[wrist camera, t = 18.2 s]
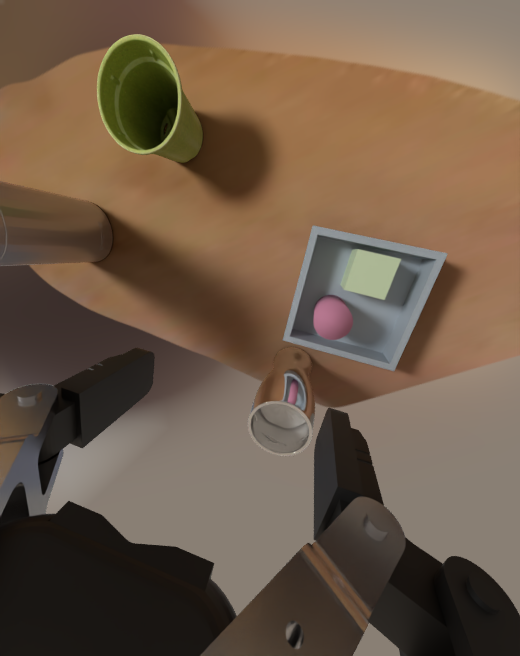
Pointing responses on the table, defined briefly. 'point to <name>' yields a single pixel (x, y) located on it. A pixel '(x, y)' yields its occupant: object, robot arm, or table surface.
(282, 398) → the beer glass
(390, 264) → the sage block
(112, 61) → the plant pot
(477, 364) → the table surface
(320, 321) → the plum cylinder
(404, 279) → the tub
